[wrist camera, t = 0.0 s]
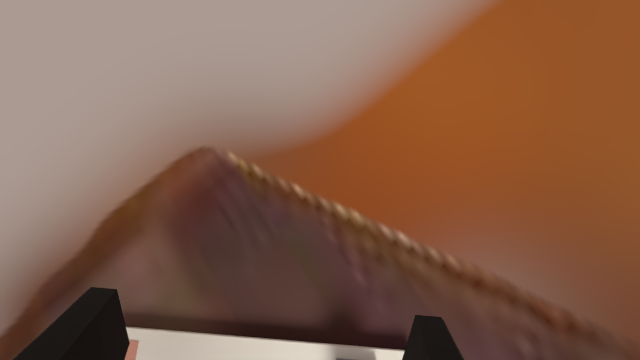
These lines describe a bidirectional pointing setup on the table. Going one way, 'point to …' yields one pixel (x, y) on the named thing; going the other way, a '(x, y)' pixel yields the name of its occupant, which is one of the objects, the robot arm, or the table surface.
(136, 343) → the switch board
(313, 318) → the table surface
